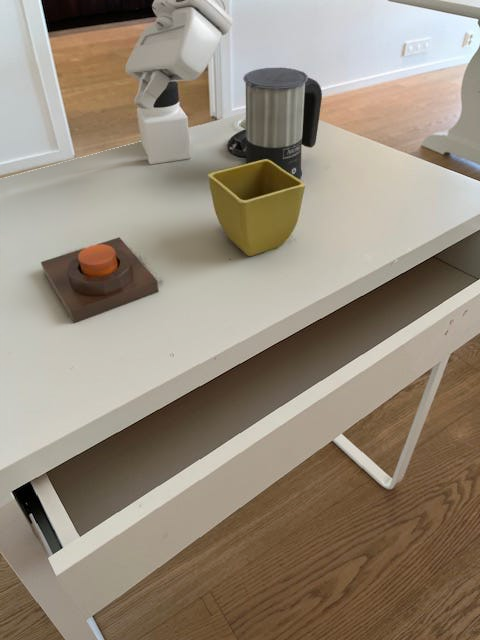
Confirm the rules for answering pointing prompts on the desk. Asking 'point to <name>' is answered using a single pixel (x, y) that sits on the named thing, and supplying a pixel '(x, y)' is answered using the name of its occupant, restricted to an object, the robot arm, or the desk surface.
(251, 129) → the milk frother
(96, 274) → the button
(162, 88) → the robot arm
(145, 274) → the button base
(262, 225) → the flower pot
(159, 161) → the medicine bottle
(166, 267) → the desk surface
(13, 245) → the desk surface
